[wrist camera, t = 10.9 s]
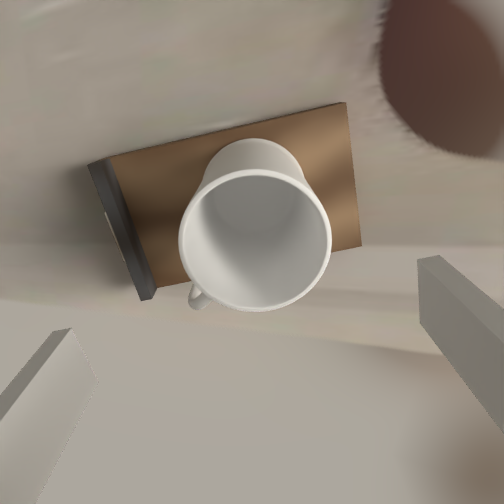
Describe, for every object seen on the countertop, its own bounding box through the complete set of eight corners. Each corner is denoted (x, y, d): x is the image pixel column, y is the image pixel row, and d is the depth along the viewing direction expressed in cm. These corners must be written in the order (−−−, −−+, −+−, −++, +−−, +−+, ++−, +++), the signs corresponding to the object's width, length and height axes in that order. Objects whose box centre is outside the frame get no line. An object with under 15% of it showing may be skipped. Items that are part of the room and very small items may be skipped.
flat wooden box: (103, 158, 31) (83, 165, 27) (339, 102, 29) (353, 102, 25) (149, 280, 35) (137, 301, 32) (355, 238, 34) (368, 255, 30)
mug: (234, 282, 33) (225, 374, 22) (158, 224, 31) (106, 294, 20) (326, 187, 30) (371, 239, 19) (248, 113, 27) (246, 124, 16)
